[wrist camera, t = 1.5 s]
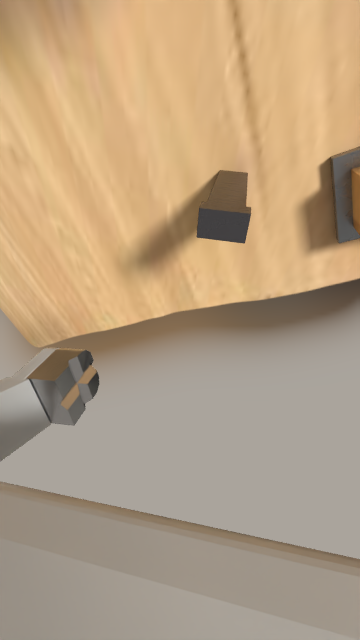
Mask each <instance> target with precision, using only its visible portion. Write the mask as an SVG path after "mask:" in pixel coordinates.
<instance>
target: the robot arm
mask: <svg viewBox="0 0 360 640" xmlns="http://www.w3.org/2000/svg"><path fill="white" fill-rule="evenodd" d="M92 363H93V358H92V355H91V353H90V352H89V351H87V350H81V349H68V348H52V347H48V348H44V349H43V350H42V351H41V352H39V353H38V354H37V355H36V356H35V357H34V358H33V359H31V360H30V361H29V362H28V363H27V364H26V365H25V366H24V367H22V368H21V369H20V370H19V371H18V372H17V373H16V374H15V375H13V376H12V377H11V378H9V377H7V378H5V379H2V380H0V461H2V460H3V459H4V458H5V457H7V456H9V455H10V454H11V453H13V452H14V451H15V450H16V449H18V448H19V447H21V446H22V445H24V444H25V443H26V442H28V441H29V440H30V439H32V438H33V437H34V436H36V435H37V434H38V433H40V432H41V431H43V430H44V429H45V428H47V427H48V426H49V425H51V423H55V424H64V425H75V424H76V422H77V421H78V419H79V418H80V416H81V415H82V414H83V412H84V411H85V403H86V402H88V401H90V400H91V399H93V397H94V396H95V394H96V393H97V390H98V386H99V375H98V372H97V370H96V369H94V367H92V366H91V365H92ZM0 640H360V559H356V558H352V557H347V556H343V555H338V554H333V553H329V552H324V551H319V550H315V549H310V548H305V547H301V546H296V545H292V544H287V543H283V542H278V541H273V540H269V539H264V538H260V537H255V536H250V535H246V534H241V533H236V532H232V531H227V530H222V529H218V528H213V527H209V526H204V525H200V524H195V523H190V522H186V521H181V520H176V519H171V518H167V517H163V516H158V515H153V514H148V513H144V512H139V511H135V510H130V509H125V508H121V507H116V506H111V505H107V504H102V503H96V502H93V501H88V500H84V499H79V498H74V497H70V496H65V495H60V494H56V493H51V492H46V491H41V490H37V489H33V488H28V487H23V486H19V485H14V484H9V483H5V482H0Z"/></svg>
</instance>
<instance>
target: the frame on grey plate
mask: <svg viewBox="0 0 360 640" xmlns="http://www.w3.org/2000/svg"><path fill="white" fill-rule="evenodd" d="M330 158H331V172H332V185H333V198H334V211H335V224H336V238H337V241H338V243H342V242H346V241H350V240H354V239H358V238H360V147H357V148H354V149H351V150H349V151H346V152H343V153H340V154H337V155H334V156H332V157H330Z"/></svg>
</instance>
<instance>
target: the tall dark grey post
mask: <svg viewBox="0 0 360 640" xmlns="http://www.w3.org/2000/svg"><path fill="white" fill-rule="evenodd" d="M247 177H248V173H243V172H233V171H223V170H220V172H219V174H218V177H217V179H216V182H215V184H214V186H213V189H212V191H211V194H210V196H209V199H208V201H207V202H202V203H201V205H200V208H199V217H198V228H197V237H198V238H206V239H213V240H221V241H229V242H237V243H245V240H246V235H247V230H248V226H249V221H250V216H251V207H246V196H247Z"/></svg>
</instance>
